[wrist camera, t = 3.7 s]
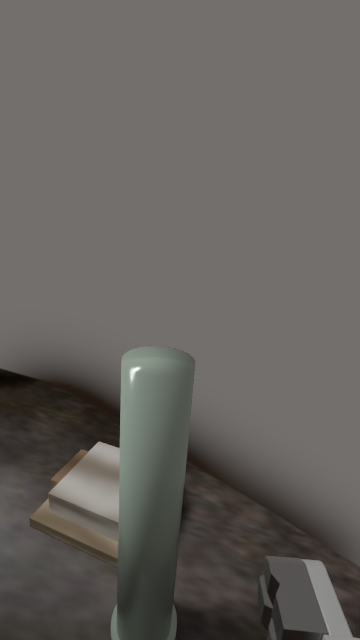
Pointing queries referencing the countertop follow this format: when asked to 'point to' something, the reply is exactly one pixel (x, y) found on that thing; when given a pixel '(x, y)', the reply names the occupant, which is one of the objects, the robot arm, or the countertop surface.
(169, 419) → the sage vase
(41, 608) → the countertop surface
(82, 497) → the stand
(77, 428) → the countertop surface
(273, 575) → the robot arm
